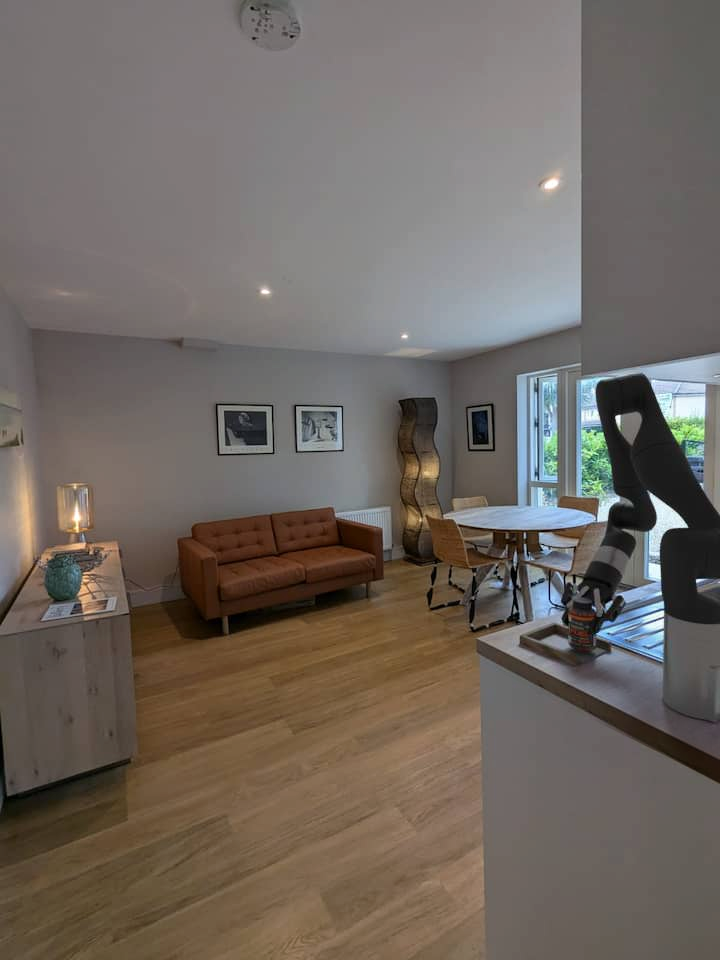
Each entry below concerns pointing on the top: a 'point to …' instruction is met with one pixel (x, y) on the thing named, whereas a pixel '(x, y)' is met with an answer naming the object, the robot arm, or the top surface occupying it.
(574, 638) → the supplement bottle
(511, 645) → the top surface
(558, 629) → the frame
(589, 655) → the front pad
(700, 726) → the top surface
